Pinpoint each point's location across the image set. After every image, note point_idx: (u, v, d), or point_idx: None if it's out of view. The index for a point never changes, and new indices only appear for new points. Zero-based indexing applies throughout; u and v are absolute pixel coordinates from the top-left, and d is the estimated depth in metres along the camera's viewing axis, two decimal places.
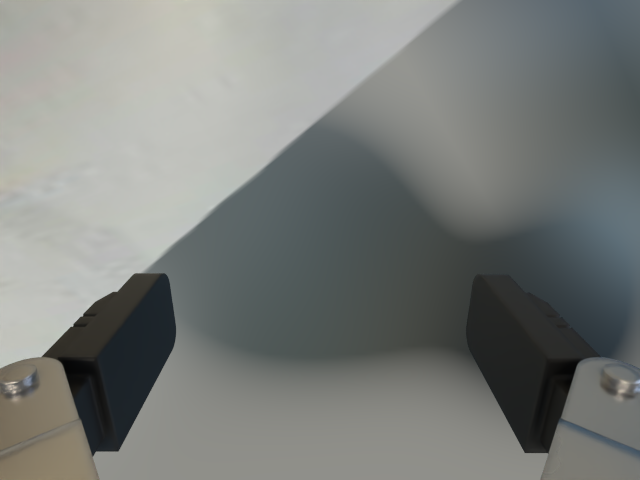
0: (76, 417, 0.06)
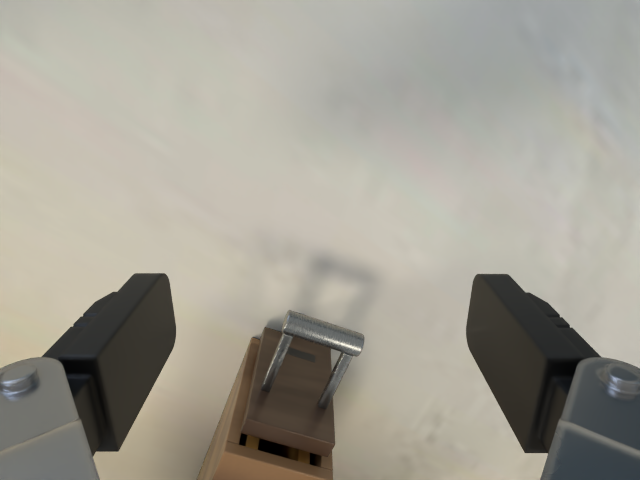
0: (76, 417, 0.06)
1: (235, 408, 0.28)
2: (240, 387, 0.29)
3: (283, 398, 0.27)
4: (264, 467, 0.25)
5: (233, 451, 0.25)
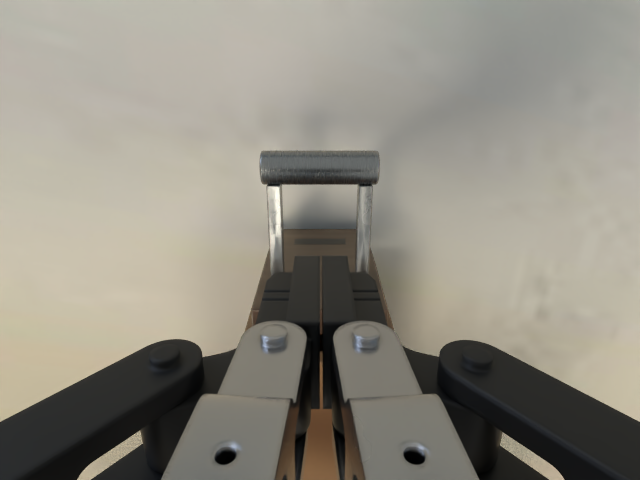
0: (295, 393, 0.06)
1: (250, 317, 0.20)
2: None
3: None
4: None
5: None
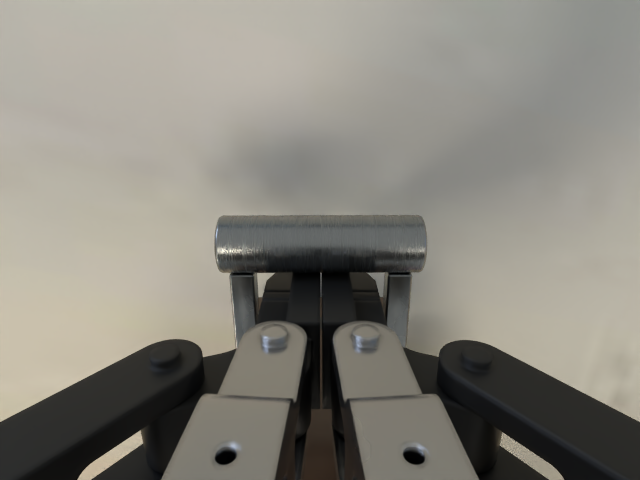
0: (295, 393, 0.06)
1: None
2: None
3: None
4: None
5: None
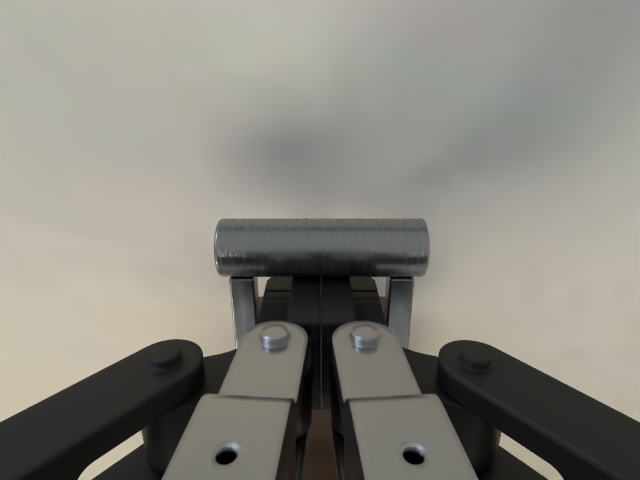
0: (296, 393, 0.06)
1: None
2: None
3: None
4: None
5: None
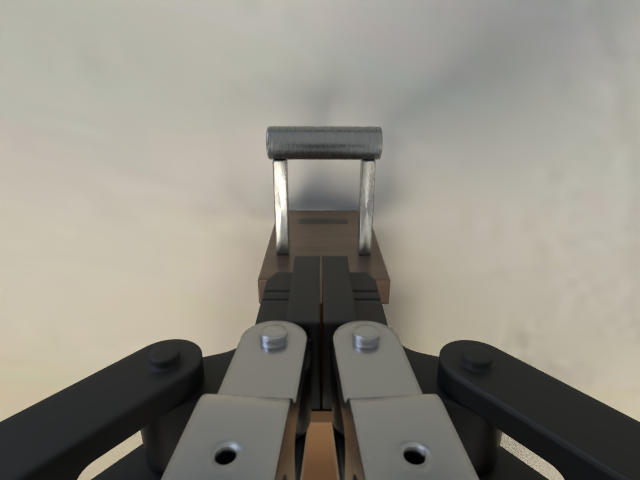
0: (295, 393, 0.06)
1: None
2: None
3: (308, 255, 0.20)
4: None
5: None
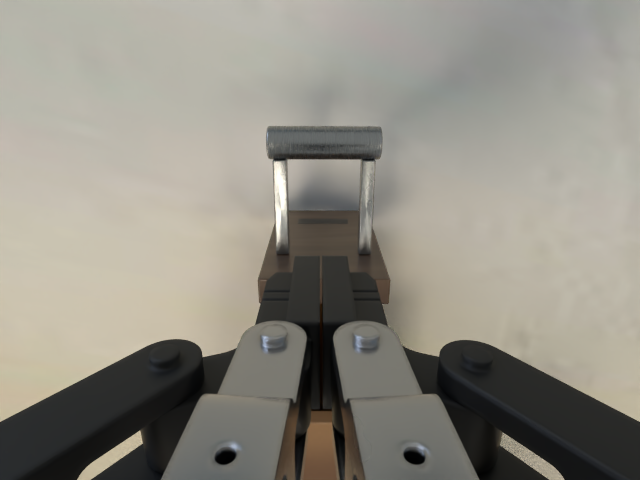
0: (295, 393, 0.06)
1: None
2: None
3: (309, 255, 0.20)
4: None
5: None
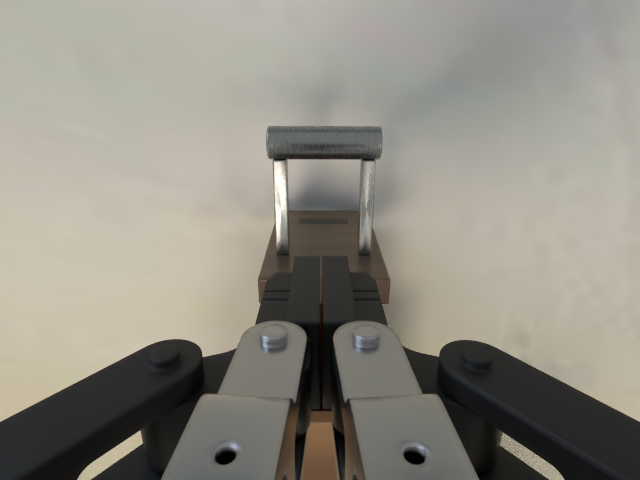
0: (295, 393, 0.06)
1: None
2: None
3: (308, 255, 0.20)
4: None
5: None
